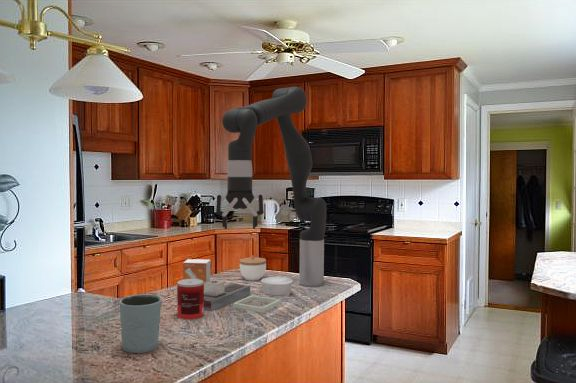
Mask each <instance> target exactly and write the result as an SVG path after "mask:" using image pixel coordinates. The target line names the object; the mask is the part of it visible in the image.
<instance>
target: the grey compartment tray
mask: <svg viewBox="0 0 576 383" xmlns="http://www.w3.org/2000/svg"><path fill="white" fill-rule="evenodd" d="M224 287H225V295H223V296H220V297H218V298H214V297H207V296H204V311H206V312H207V311H208V312H214V311H215V310H218V309H220V308H222V307H225V306H228V305H229V304H233V303H235V302H237V301H240V300H242V299H244V298H247V297H249V296H251V285H246V284H238V283H229V284H224Z"/></svg>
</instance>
